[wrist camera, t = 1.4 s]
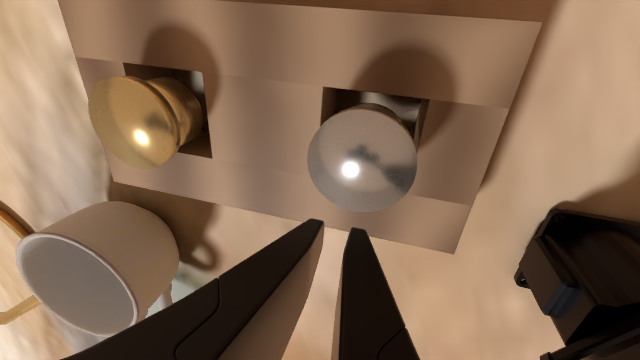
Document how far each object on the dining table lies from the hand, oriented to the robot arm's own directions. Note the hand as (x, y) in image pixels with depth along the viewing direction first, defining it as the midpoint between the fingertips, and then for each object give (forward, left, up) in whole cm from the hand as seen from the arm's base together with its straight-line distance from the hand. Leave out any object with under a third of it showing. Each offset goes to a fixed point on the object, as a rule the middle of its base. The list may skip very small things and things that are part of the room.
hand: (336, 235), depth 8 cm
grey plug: (0, 0, -8) cm, 8 cm away
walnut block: (+6, 0, -12) cm, 13 cm away
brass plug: (+12, 0, -8) cm, 15 cm away
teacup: (+20, +16, -12) cm, 28 cm away
